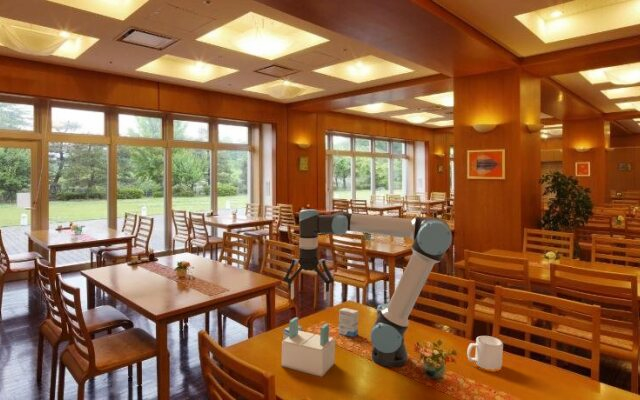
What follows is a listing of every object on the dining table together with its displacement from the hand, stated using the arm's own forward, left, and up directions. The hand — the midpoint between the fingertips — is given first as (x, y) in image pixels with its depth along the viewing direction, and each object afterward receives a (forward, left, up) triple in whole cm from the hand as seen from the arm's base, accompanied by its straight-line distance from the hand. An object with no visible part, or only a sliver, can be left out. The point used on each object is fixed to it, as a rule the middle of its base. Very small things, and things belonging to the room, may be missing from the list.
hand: (308, 298), depth 162 cm
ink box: (-5, -34, -27) cm, 44 cm away
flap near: (-6, +3, -16) cm, 18 cm away
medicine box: (+12, -9, -27) cm, 31 cm away
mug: (-67, -31, -27) cm, 78 cm away
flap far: (+3, +3, -16) cm, 17 cm away
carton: (-2, +3, -26) cm, 27 cm away
